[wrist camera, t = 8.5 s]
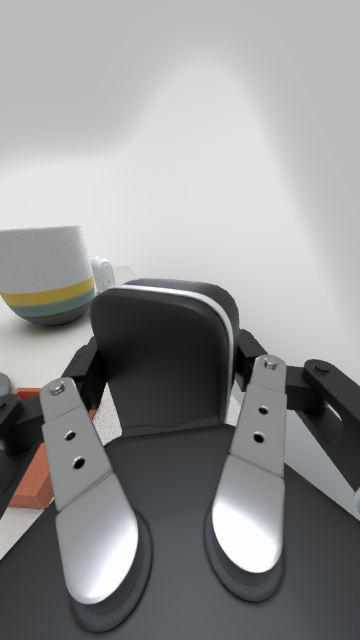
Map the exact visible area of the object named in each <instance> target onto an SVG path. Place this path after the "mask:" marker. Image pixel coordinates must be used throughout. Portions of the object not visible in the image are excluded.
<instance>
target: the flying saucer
mask: <svg viewBox="0 0 360 640" xmlns="http://www.w3.org/2000/svg"><path fill="white" fill-rule="evenodd" d="M10 386H11V382H10V379H9V377H8V376H6V375H5V374H3V373H0V396H3V395H6V394H8V392H9V390H10Z"/></svg>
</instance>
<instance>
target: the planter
mask: <svg viewBox="0 0 360 640" xmlns="http://www.w3.org/2000/svg"><path fill="white" fill-rule="evenodd" d="M0 295H1V296H2V298H3V299H4V301H5V302H6V304H7V305H8V306H9V307H10V308H11V309H12V310H13V311H14V312H15V313H16V314H17V315H18V316H20V317H21V318H23V319H25V320H28V321H30V322H33V323H37V324H42V325H58V324H63V323H67V322H70V321H72V320H74V319H76V318H78V317H80V316H81V315H82V314H83V313H84V312H85V311H86V310H87V309H88V308H89V306H90V305H91V303H92V300H93V297H94V280H93V274H92V269H91V265H90V260H89V256H88V251H87V247H86V243H85V239H84V235H83V231H82V227H81V226H64V227H47V228H29V229H10V230H0Z"/></svg>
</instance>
